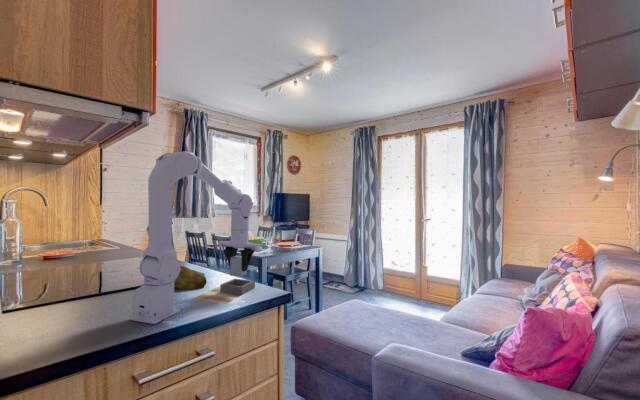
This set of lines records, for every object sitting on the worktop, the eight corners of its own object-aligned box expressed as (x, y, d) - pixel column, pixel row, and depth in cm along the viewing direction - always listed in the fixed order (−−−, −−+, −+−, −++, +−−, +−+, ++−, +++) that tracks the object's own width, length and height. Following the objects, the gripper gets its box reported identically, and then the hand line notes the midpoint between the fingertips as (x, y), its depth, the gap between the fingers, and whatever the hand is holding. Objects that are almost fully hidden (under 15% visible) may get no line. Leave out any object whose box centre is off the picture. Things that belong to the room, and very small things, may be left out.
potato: (196, 294, 103) (196, 269, 103) (160, 291, 105) (160, 267, 105) (209, 287, 111) (209, 264, 111) (175, 284, 113) (175, 262, 113)
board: (226, 305, 93) (226, 303, 93) (191, 300, 97) (191, 298, 97) (255, 289, 110) (255, 287, 110) (225, 285, 114) (225, 283, 114)
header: (241, 295, 101) (242, 287, 101) (220, 292, 104) (220, 284, 104) (255, 288, 110) (255, 280, 110) (234, 285, 112) (234, 278, 112)
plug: (240, 276, 104) (241, 258, 104) (229, 275, 105) (230, 257, 105) (247, 273, 109) (248, 256, 109) (237, 272, 110) (237, 255, 110)
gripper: (264, 229, 108) (263, 269, 108) (227, 227, 113) (226, 265, 113) (254, 231, 102) (253, 274, 102) (215, 229, 106) (214, 269, 106)
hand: (238, 270), depth 107 cm, fingers closed on plug, 4 cm apart
